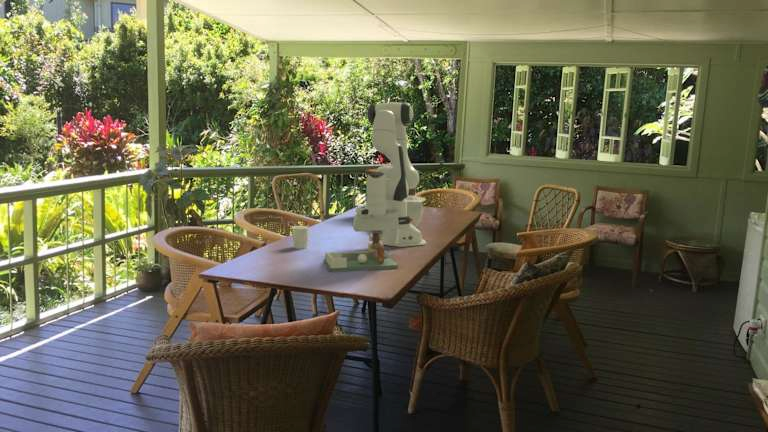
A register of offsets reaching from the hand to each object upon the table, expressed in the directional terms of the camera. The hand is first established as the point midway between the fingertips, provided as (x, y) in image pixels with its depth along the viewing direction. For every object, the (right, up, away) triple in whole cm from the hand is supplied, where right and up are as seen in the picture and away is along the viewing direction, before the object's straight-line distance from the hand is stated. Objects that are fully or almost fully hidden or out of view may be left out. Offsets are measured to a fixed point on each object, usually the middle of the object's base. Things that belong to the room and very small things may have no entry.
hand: (375, 240), depth 277 cm
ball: (-6, -7, -9) cm, 13 cm away
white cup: (-37, -5, +28) cm, 47 cm away
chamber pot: (+14, +4, +86) cm, 87 cm away
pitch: (-7, -11, -6) cm, 14 cm away
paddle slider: (+1, -8, -3) cm, 9 cm away
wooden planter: (+9, +10, +122) cm, 122 cm away
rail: (-8, -8, -1) cm, 12 cm away
